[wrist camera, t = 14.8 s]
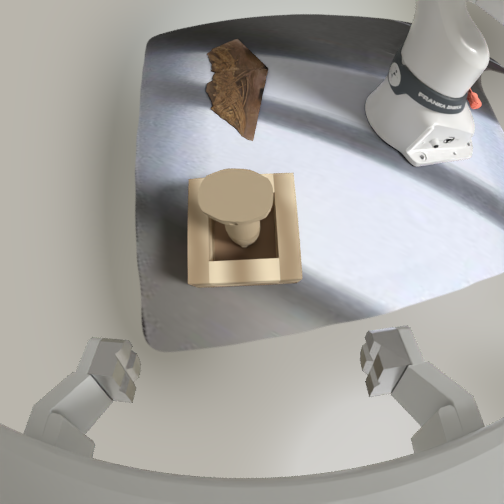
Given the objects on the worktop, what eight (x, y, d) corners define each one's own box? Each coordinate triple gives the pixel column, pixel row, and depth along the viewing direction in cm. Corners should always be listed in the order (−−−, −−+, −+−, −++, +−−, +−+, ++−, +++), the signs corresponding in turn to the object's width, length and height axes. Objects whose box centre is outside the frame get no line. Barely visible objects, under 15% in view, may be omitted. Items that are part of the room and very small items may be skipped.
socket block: (289, 189, 42) (293, 172, 36) (296, 283, 39) (302, 278, 34) (197, 195, 42) (188, 179, 36) (198, 287, 39) (188, 283, 34)
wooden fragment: (207, 44, 49) (207, 40, 48) (262, 39, 49) (262, 35, 47) (207, 145, 44) (205, 142, 43) (278, 139, 44) (278, 136, 43)
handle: (223, 217, 40) (202, 167, 26) (270, 220, 40) (274, 170, 25) (219, 252, 40) (194, 219, 25) (268, 256, 39) (271, 223, 25)
